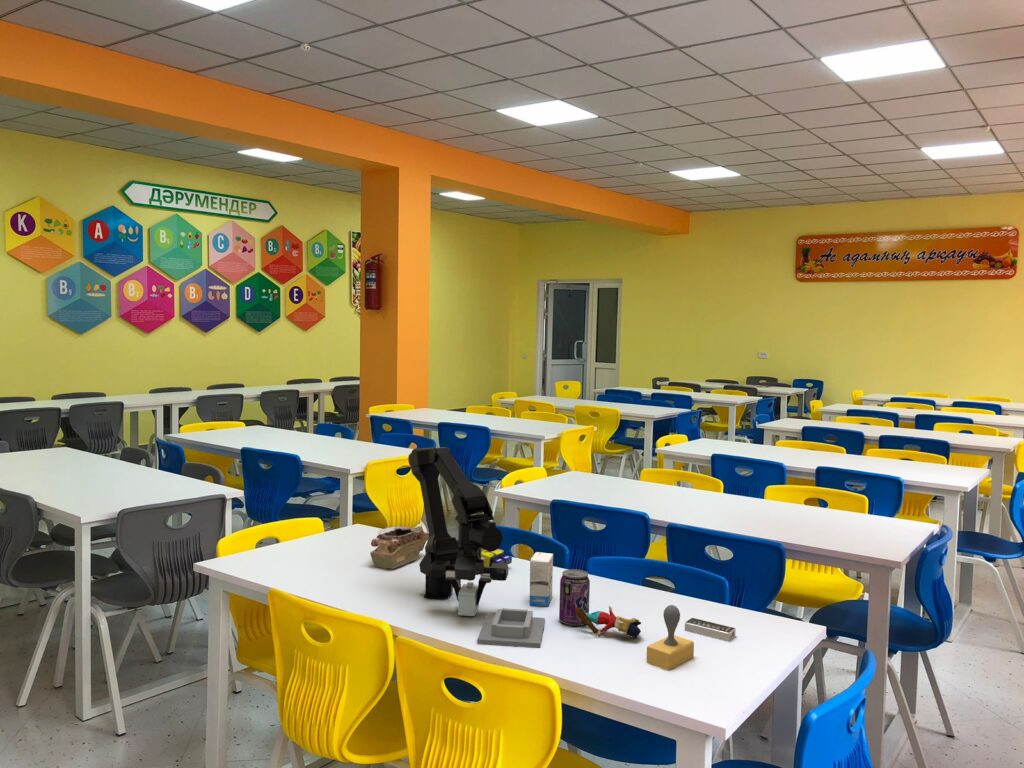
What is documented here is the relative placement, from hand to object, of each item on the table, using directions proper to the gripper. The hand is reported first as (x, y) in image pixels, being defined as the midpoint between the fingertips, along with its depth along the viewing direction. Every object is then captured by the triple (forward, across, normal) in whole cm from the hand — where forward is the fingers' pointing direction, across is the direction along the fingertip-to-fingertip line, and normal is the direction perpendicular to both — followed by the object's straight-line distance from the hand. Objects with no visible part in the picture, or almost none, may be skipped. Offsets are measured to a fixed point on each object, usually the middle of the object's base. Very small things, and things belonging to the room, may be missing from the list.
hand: (468, 604), depth 198 cm
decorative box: (+2, -28, +41) cm, 50 cm away
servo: (+2, 0, 0) cm, 2 cm away
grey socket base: (+2, +12, -11) cm, 16 cm away
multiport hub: (+3, +58, -4) cm, 58 cm away
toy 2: (+2, +34, -9) cm, 35 cm away
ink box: (+2, +17, +12) cm, 21 cm away
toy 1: (+2, -2, +40) cm, 40 cm away
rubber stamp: (+2, +47, -21) cm, 51 cm away
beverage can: (+2, +26, -2) cm, 26 cm away
